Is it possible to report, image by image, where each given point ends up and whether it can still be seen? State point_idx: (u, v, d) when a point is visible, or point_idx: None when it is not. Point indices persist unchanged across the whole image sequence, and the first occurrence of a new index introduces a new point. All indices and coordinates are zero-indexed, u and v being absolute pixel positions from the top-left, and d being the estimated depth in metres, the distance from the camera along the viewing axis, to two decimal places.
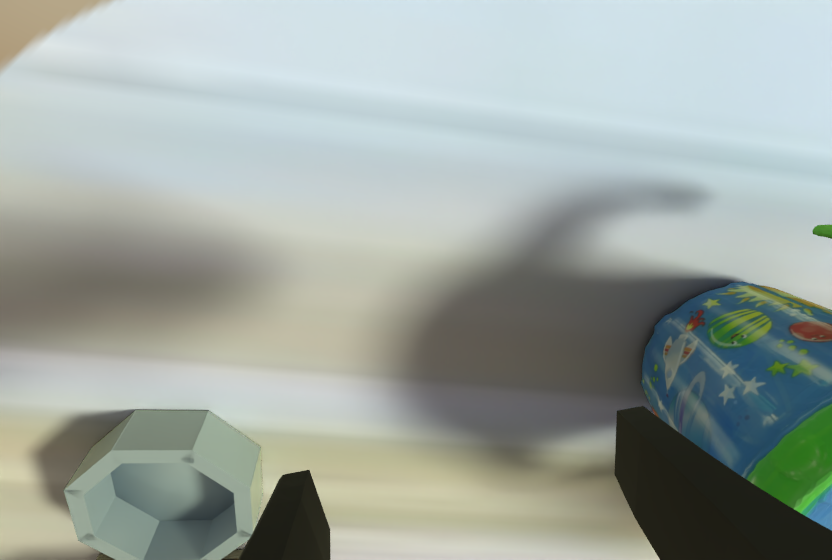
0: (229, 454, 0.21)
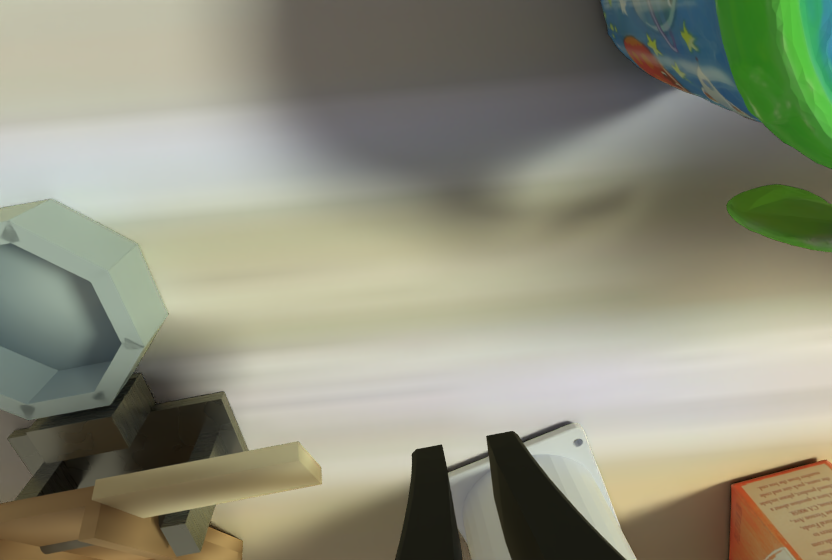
0: (78, 237, 0.17)
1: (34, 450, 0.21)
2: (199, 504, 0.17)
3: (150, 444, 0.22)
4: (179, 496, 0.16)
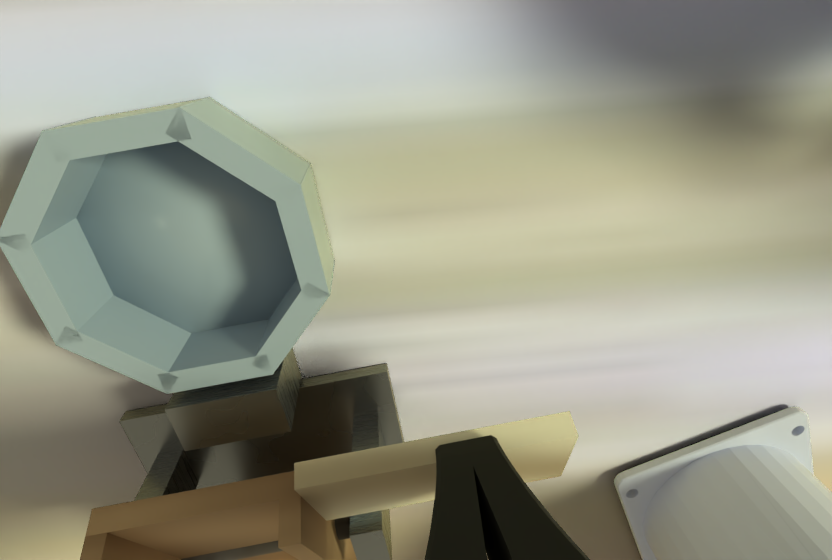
0: (255, 143, 0.12)
1: (151, 436, 0.17)
2: (404, 502, 0.13)
3: (292, 429, 0.18)
4: (394, 487, 0.12)
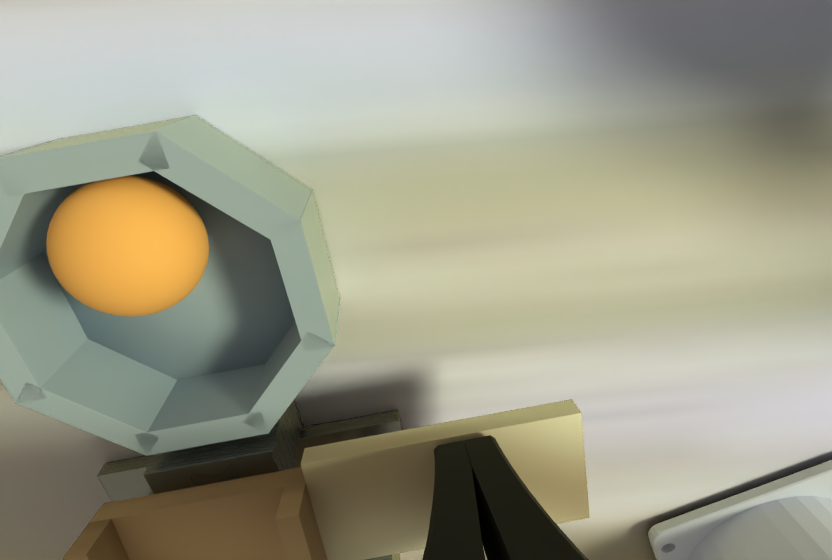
0: (247, 170, 0.10)
1: (133, 492, 0.15)
2: (415, 538, 0.12)
3: None
4: (401, 493, 0.12)
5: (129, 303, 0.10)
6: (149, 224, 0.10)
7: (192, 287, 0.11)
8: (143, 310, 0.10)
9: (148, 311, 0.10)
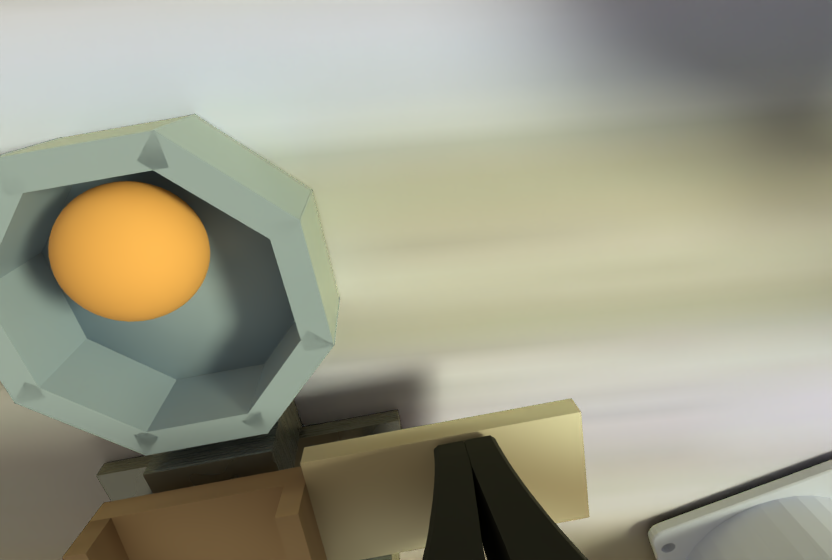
0: (246, 170, 0.10)
1: (132, 491, 0.15)
2: (414, 537, 0.12)
3: None
4: (401, 492, 0.12)
5: (129, 307, 0.10)
6: (150, 227, 0.10)
7: (192, 292, 0.11)
8: (143, 314, 0.10)
9: (148, 316, 0.10)
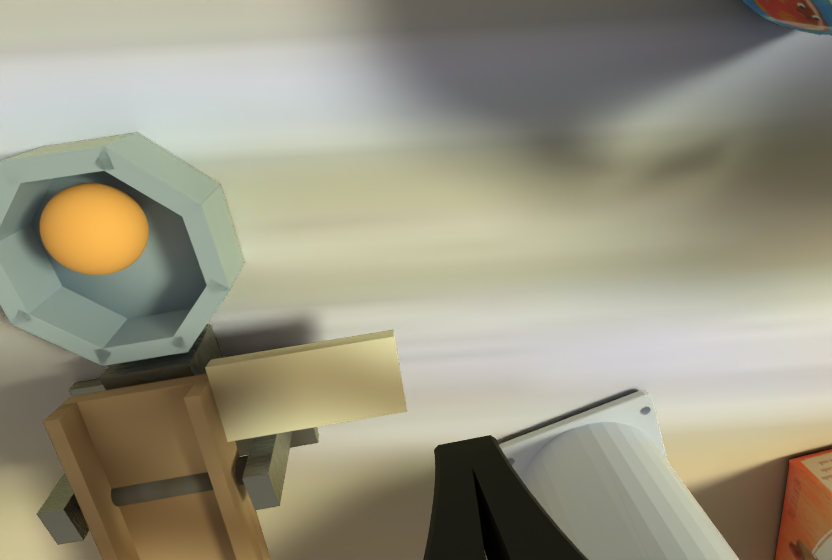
0: (168, 171, 0.16)
1: None
2: (286, 423, 0.18)
3: None
4: (275, 390, 0.17)
5: (95, 267, 0.16)
6: (106, 218, 0.15)
7: (137, 256, 0.17)
8: (105, 271, 0.16)
9: (108, 272, 0.16)
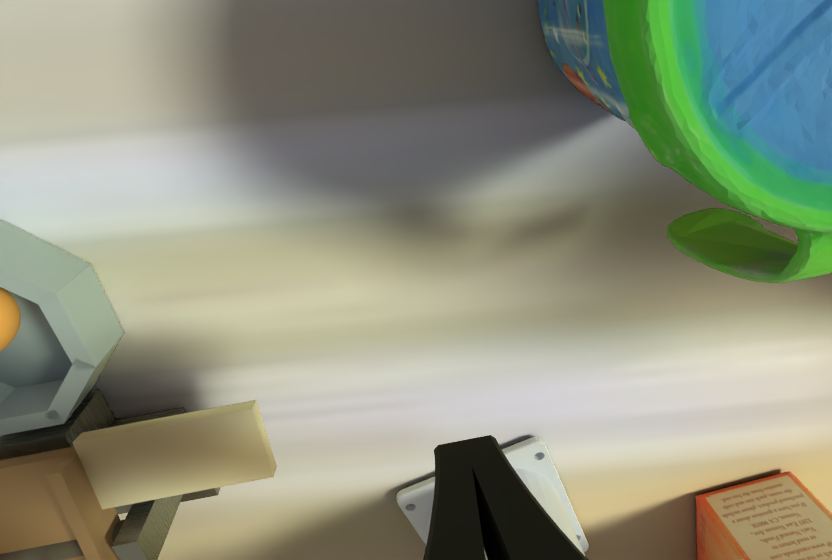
0: (26, 260, 0.17)
1: None
2: (157, 490, 0.18)
3: None
4: (143, 460, 0.18)
5: None
6: None
7: (9, 342, 0.18)
8: None
9: None
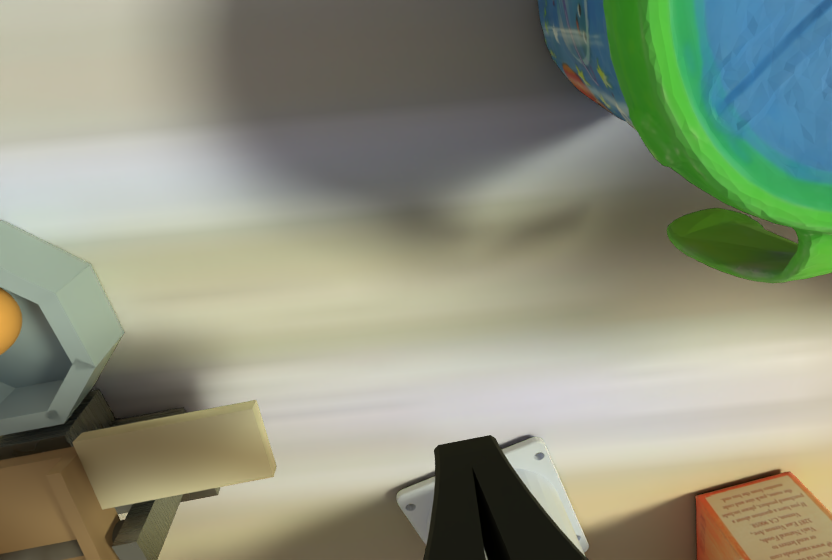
0: (26, 260, 0.17)
1: None
2: (157, 490, 0.18)
3: None
4: (143, 460, 0.18)
5: None
6: None
7: (12, 343, 0.18)
8: None
9: None
